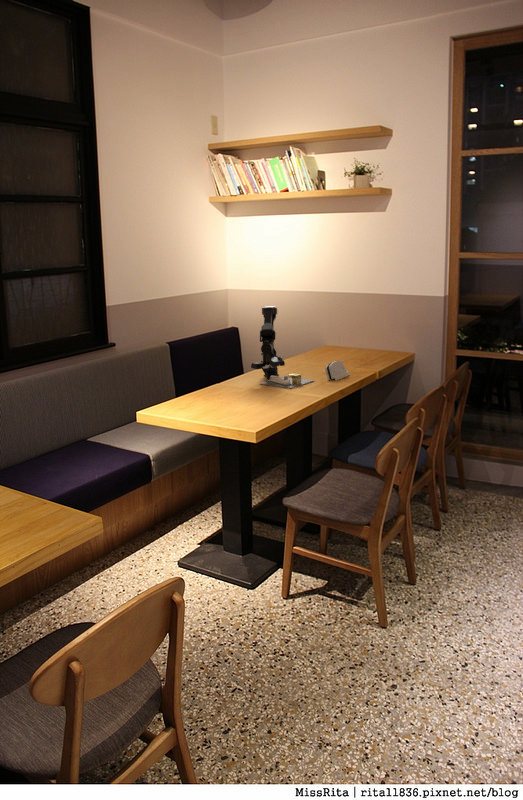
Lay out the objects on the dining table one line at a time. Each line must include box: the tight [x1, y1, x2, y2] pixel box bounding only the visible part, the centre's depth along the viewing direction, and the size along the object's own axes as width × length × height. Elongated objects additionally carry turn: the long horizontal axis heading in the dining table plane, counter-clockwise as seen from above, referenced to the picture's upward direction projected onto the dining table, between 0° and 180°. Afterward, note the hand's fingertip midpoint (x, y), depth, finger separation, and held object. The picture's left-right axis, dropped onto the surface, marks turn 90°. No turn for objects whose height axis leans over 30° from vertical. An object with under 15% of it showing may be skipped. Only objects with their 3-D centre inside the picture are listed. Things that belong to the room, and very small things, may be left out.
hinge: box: [324, 360, 350, 381], centre depth 380 cm, size 17×5×10 cm, turn 147°
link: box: [267, 375, 290, 385], centre depth 368 cm, size 16×4×4 cm, turn 36°
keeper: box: [287, 373, 302, 384], centre depth 366 cm, size 6×4×5 cm
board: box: [259, 375, 315, 390], centre depth 371 cm, size 21×21×1 cm
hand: (268, 379), depth 373 cm, fingers closed
